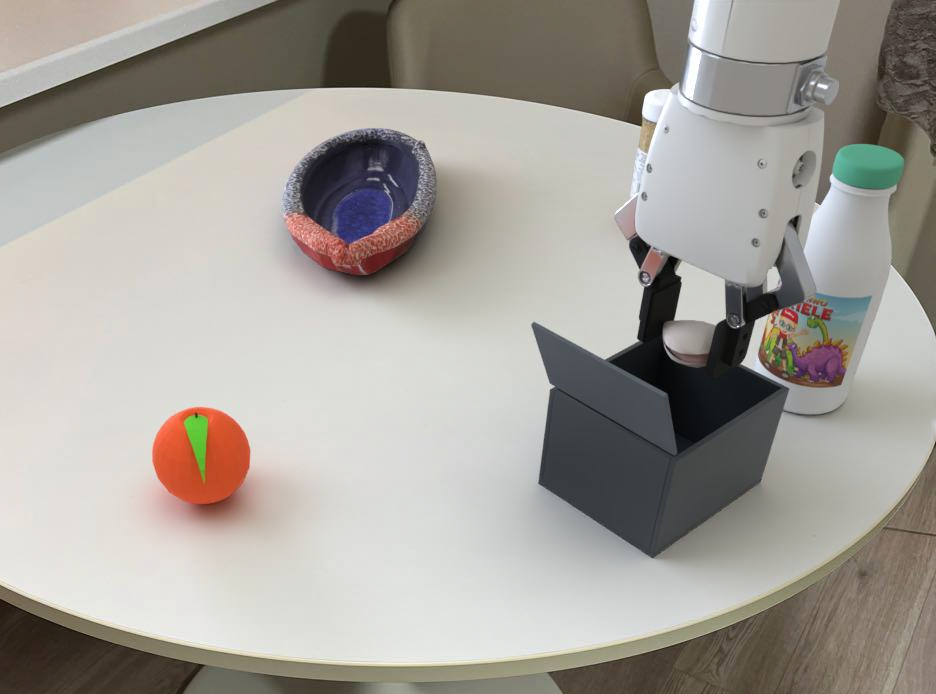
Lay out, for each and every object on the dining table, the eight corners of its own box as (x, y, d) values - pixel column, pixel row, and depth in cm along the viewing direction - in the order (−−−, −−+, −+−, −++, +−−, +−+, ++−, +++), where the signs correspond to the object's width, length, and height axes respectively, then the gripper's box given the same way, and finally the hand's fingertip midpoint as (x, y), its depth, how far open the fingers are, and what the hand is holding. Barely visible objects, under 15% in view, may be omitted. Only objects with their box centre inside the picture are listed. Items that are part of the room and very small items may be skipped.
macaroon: (687, 381, 70) (694, 348, 68) (638, 346, 73) (644, 314, 71) (735, 363, 71) (744, 331, 70) (685, 330, 74) (692, 298, 73)
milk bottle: (780, 355, 92) (848, 124, 79) (862, 391, 88) (949, 155, 74) (732, 389, 88) (794, 153, 74) (816, 429, 84) (898, 187, 70)
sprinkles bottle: (676, 227, 110) (703, 96, 101) (650, 241, 108) (675, 108, 98) (640, 213, 112) (663, 83, 103) (614, 227, 110) (635, 95, 101)
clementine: (261, 526, 75) (253, 446, 70) (162, 540, 74) (147, 459, 69) (249, 458, 81) (240, 380, 76) (157, 470, 79) (142, 391, 75)
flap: (677, 452, 67) (674, 456, 67) (552, 380, 73) (549, 383, 73) (667, 393, 62) (664, 397, 61) (533, 321, 67) (530, 324, 67)
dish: (448, 167, 121) (450, 123, 117) (417, 302, 98) (418, 252, 95) (315, 159, 122) (313, 115, 119) (254, 290, 100) (249, 240, 96)
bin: (652, 558, 73) (675, 462, 67) (537, 483, 79) (549, 389, 73) (760, 481, 79) (789, 388, 73) (646, 417, 85) (665, 326, 79)
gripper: (923, 102, 57) (828, 385, 69) (669, 26, 66) (625, 287, 79) (847, 137, 53) (761, 430, 65) (590, 52, 63) (557, 321, 75)
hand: (688, 349), depth 72 cm, fingers closed on macaroon, 5 cm apart
